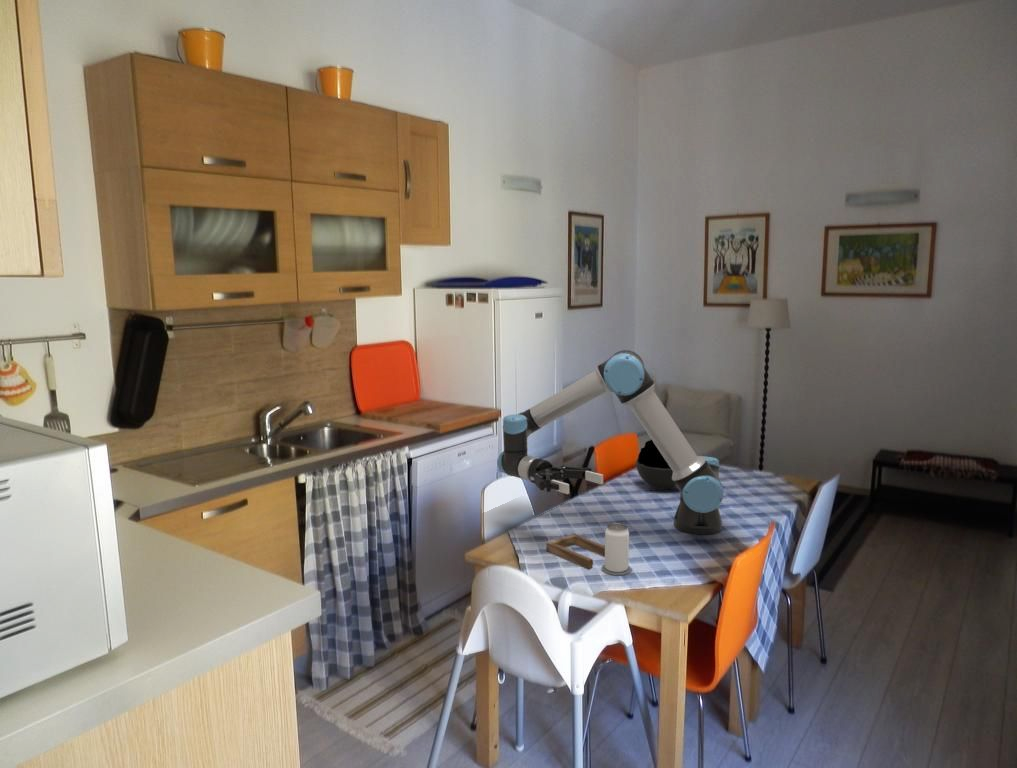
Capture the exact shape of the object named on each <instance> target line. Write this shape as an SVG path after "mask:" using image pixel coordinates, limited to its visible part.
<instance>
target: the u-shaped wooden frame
mask: <svg viewBox="0 0 1017 768" xmlns="http://www.w3.org/2000/svg"><path fill="white" fill-rule="evenodd" d="M574 545H575V546H577V547H580V548H581V549H585V550H587V551H590V552H592V553H595V554H597V555H599V556H602V557H604V558H605V544H602V543H601V544H600V543H599V542H596V541H594V540H591V539H589V538H586V537H583V536H581V535H578V534H576V533H573V534H571V535H566V536H563V537H561V538H557V539H554V540H550V541H547V542H546V549H545V551H546V552H549V553H550V554H553V555H555V556H557V557H558V558H559V557H560V558H562V559H564V560H567V561H568V562H570V563H573V564H575V565H577V566H580V567H583V568H584V569H587V570H591V569H593V563H594V559H592V558H590V557H588V556H586V555H584V554H581V553H579V552H576V551H573V550H571V549H569V548H568V547H570V546H574Z"/></svg>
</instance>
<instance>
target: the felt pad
mask: <svg viewBox="0 0 1017 768" xmlns="http://www.w3.org/2000/svg"><path fill="white" fill-rule="evenodd" d="M601 571H602V572H603V573H605V574H607V575H609V576H610V575H611V576H618V577H619V576H621V577H622V576H626V575H629V574H630V573H631V572H632V568H631V567H630V566H629V565H628V569H627V570H626V571H624V572H619V573H617V572H611V571H608V570H607V569H606V568H605V563H604V564H603V565H602V566H601Z"/></svg>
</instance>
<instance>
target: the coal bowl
mask: <svg viewBox="0 0 1017 768" xmlns="http://www.w3.org/2000/svg"><path fill="white" fill-rule="evenodd" d="M635 466H636V470H637V472H638V474H639V476H640V478H641V479H642V480H643V481H644V482H645V483H646V484H648V486H650V487H653V488H656V489H661V490H665V489H666V490H667V489H671V488H674V487H677V486H676V485H675V483H674V481H673V480H672V475H673V471H672V469H671V468H670V466H669V465H668V463H667V462H666V460H665V459H664V457H663V456H662V454H661V453H660V451H659V450H658V448H657V447H656V445H655V444H654V442H653V441H652V439H651V438H650V440H647V441H646V442H645V443H644V447H642V448H640V452H639V453H638V456H637V459H636V460H635Z"/></svg>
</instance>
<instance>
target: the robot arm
mask: <svg viewBox="0 0 1017 768" xmlns="http://www.w3.org/2000/svg"><path fill="white" fill-rule="evenodd" d="M655 384H656V383H655V381H654V380H653V378H652V377H651V375H650V374H649V372H648V370H647V369H646V367H645V363H644V361H643V359H642V357H641V356H640V355H639V354H638V353H636V352H635V351H634V350H633V351H632V350H627V349H626V350H624V349H623V350H619V351H616V352H615V353H614V354H612V356H610V357H609V358H607V360H605V361H603V362H602V363H600V364H599V365H596V368H595V370H594V371H593V372H591V373H589V374H587V375H585V376H584V377H582V378H580V379H578V380H577V381H575V382H573V383H572V384H570V385H568V386H567V387H565V388H563V389H561V390H559V391H558V392H556V393H554V394H552V395H551V396H549V397H547V398H546V399H543V400H542V401H540V402H539V403H537V404H535V405H533V406H531V407H530V408H528V409H526V410H524V411H523V412H519V413H518V414H517V413H516V414H515V413H514V414H508V415H506V416H503V419H502V433H503V434H502V435H503V451H502V452H501V453H500V454H499V455H498V457H497V468H498V470H499V471H500V472H502V473H504V474H506V475H508V476H510V477H514V478H517V479H522V480H525V481H528V483H531V484H532V483H533V484H534V485H535V486H536V487H537V488H538V489H539V490H541V491H545V489H546V492H547V493H550V492H551V491H552V490H553V491H556V492H559V493H562V494H566V495H570V484H569V483H567V482H563V481H565V480H566V479H579V480H583V479H584V480H585V481H587V482H588V481H589V482H592V483H595V484H599V485H603V484H604V474H601V473H598V472H593V471H592V468H591V467H579V466H578V467H576V466H567V465H561V466H560V467H558V466H553V464H552V463H551V461H549V460H547V459H543V458H539V457H535V456H531V455H528V437H529V436H530V435H532V434H533V433H535V432H536V431H538V430H541V429H542V428H543V427H545V426H547V425H549V424H551V423H552V422H555V421H556V420H558V419H560V418H561V417H563V416H565V415H567V414H569V413H571V412H572V411H574V410H576V409H578V408H579V407H581V406H583V405H585V404H587V403H588V402H590V401H592V400H594V399H596V398H597V397H600V396H601V395H603V394H604V393H606V392H608V393H609V392H610V393H614V395H615V396H616V397H617V399H618V400H619V403H620V404H621V405H624V406H627V407H629V408H630V409H631V411H632V412H633V415H635V417H636V418H637V420H638V421H639V423H640V424H641V426H642V427H643V429H644V431H645V432H646V433H647V435H648V437H649V438H650V440H651V439H652V441H653V442H654V444H655V445H656V447H657V448H658V450H659V451H660V453H661V454H662V456H663V457H664V459H665V460H666V462H667V463H668V465H669V466H670V468H671V469H672V471H673V475H672V480H673V481H674V483H675V485H676V486H675V487H677V489H678V491H679V492H680V494H679V495H680V496H679V498H680V499H679V504H678V506H677V509H676V511H675V515H674V517H673V526H674V527H675V528H676V529H677V530H679V531H681V532H684V533H689V534H695V535H712V534H717V533H719V532H721V531H722V530H723V520H722V517H721V512H720V509H719V506H720V505H721V504H722V502H723V500H724V499H723V498H724V494H725V493H724V487H723V485H722V482H721V479H720V473H719V472H720V461H719V459H718V458H716V457H712V456H703V455H701V456H700V455H697V454H696V452H695V450H694V449H693V448H692V446H691V444H690V443H689V442H688V440H687V439H686V437H685V436H684V434H683V433H682V431H681V430H680V428H679V426H678V425H677V424H676V422H675V420H674V419H673V417H672V416H671V415H670V413H669V411H668V410H667V408H666V406H664V404H663V402H662V401H661V399H660V398H659V396H658V395H657V394H656V392H655V390H654V389H655Z"/></svg>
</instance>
